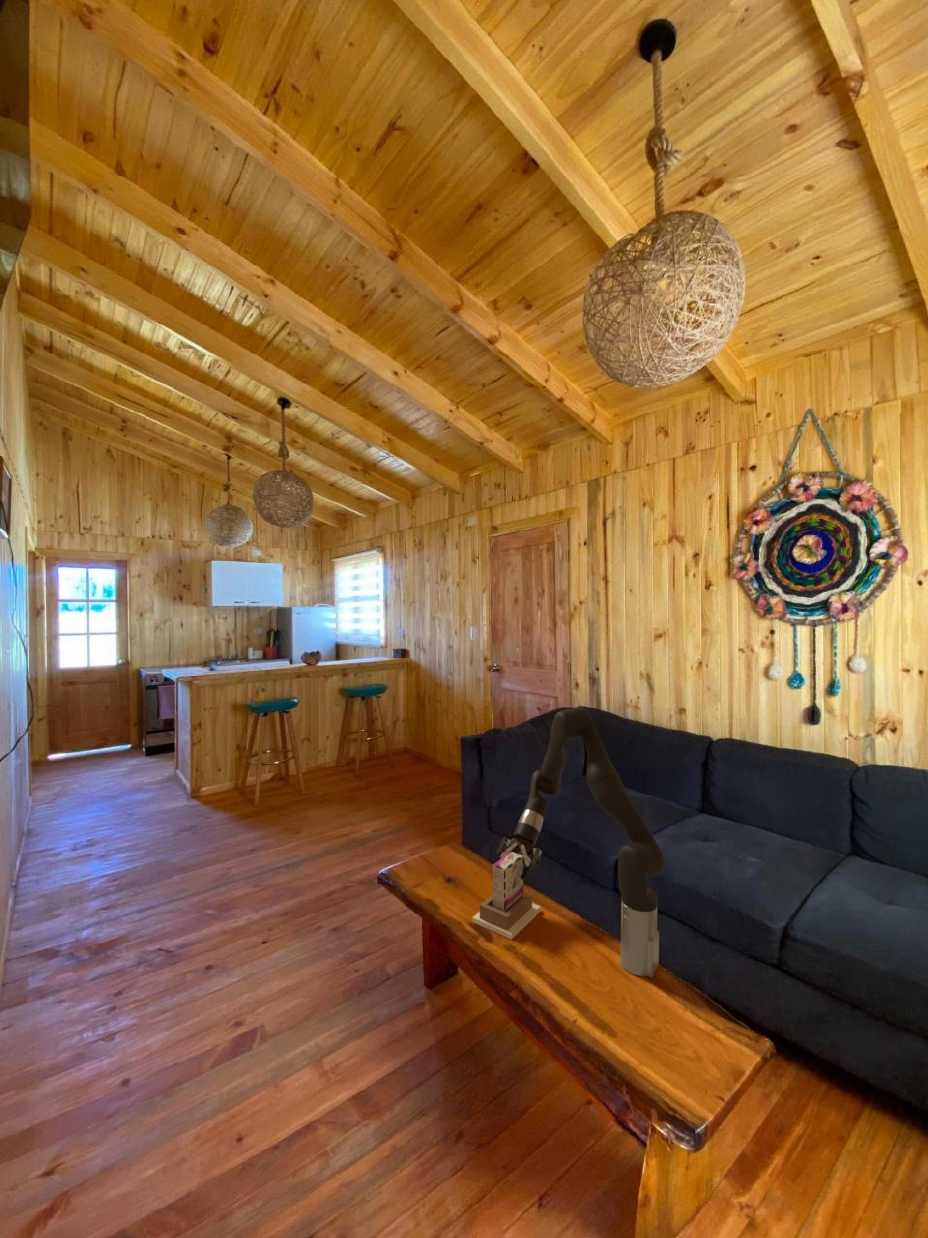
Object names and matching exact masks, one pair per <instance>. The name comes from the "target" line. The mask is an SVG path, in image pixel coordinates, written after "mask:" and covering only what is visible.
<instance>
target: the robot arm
mask: <svg viewBox="0 0 928 1238" xmlns="http://www.w3.org/2000/svg"><path fill="white" fill-rule="evenodd" d="M578 738H581V740H582V742H583V743H584V744H583V745H584V746H585V749H586V752H587V753H586V754H587V763H586V782H587V785H588V787H589V789H590V792H591V793H592V796H593V798H594V799H595V802H596V803H597V804H598V806H599V807H600V808H601V810H603V811H604V812H605V813H606V814H608V815H609V816H610V817H611V818H612V819H614V821H615V822H616V823H617V824H619V826H620V827H621V828H622V830H623V831H624V832H625V834H626V836H627V837H628V839H629V841H630V843H629V844H625V845H624V846H622V847H621V848H620V850H619V853H618V858H617V869H618V870H617V871H618V872H617V873H618V888H619V890H620V891H619V892H620V894H621V912H620V913H621V914H620V916H621V917H620V954H619V955H620V964H621V966H622V967H623V969H624V970H626V971H627V972H628V973H630V974H632V975H634V976H635V975H636V976H638V977H647V978H652V979H653V977H654V975H655V974H656V972H657V969H658V968H659V962H660V960H659V957H660V956H659V955H660V953H659V952H660V931H659V930H658V896H657V893H656V891H654V890H653V889H652V888H650V887H649V886H647V885H648V880H649V879H651V878H653V877H656V876H658V875H660V874H662V873H663V872H664V870H665V864H666V863H665V862H666V861H665V857H664V855H663V852H662V850H661V848H660V846H659V845H658V843H657V842H656V840H655V838H654V836H653V835H652V833H651V832H650V830H649V829H648V827H647V826H646V824H645V823H644V821H643V819H642V818H641V816H640V814H639V813H638V810H637V809H636V807H635V805H634V803H633V802H632V800H631V798H630V795H629V794H628V792H627V790H626V788H625V785H624V783H623V782H622V780H621V778H620V776H619V774H618V773H617V770H616V769H615V767H614V765H613V764H612V762H611V759H610V757H609V755H608V753H607V751H606V749H605V747H604V745H603V743H602V740H601V738H600V736H599V733H598V730H597V728H596V726H595V723H594V721H593V718H592V717H591V715H590V713H589V711H587V710H586V709H585V708H584V707H583V706H576V707H571V708H568V709H561V710H560V711H558V712H557V713H556V714H555V715H554V717H553V720H552V723H551V730H550V736H549V744H548V747H547V748H548V749H547V752H546V755H545V757H544V760H543V763H542V765H541V769H537V770H535V771H534V772H533V773H532V775H531V779H530V790H529V794H528V795H529V796H528V799H527V802H526V805H525V807H524V808H523V809H524V810H523V812H522V813H521V816H520V818H519V820H518V822H517V824H516V828H515V830H514V833H513V837H512V839H509V838H507V837H506V836H504V837H503V838H502V840H501V841H500V844H499V846H498V848H497V850H496V854H497V856H499V860H500V859H502V858H503V857H504V856H506V855H507V854H508V853H510V852H514V853H517V854H520V855H523V861H524V863H525V866H524V865H523V872H522V874H521V879H522V880H523V882H525V881H526V880H527V879H528V877H529V875H530V872H531V870H538V868H539V864H540V861H541V858H542V854H543V851H542V850H541V849H540V848H539V847H535V845H536V843H537V840H538V838H539V835H540V832H541V831H542V827H543V822H544V819H545V817H546V813H547V812H548V808H549V803H548V801H547V800H545V798H544V797H542V796H541V795H540V794H539V792H540V793H541V794H543V795H546V796H548V797H550V798H555V797H556V796H558V795H559V793H560V792H561V788H562V774H563V771H564V770H565V767H566V764H567V762H568V761H567V760H568V759H567V758H568V757H567V752H566V750H565V749H564V746H565V744H566V742H568V741H569V740H574V739H578ZM508 846H509V847H508ZM532 854H533V858H532V859H531V857H530V855H532ZM531 860H532V861H531Z"/></svg>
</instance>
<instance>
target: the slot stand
mask: <svg viewBox="0 0 928 1238" xmlns="http://www.w3.org/2000/svg"><path fill="white" fill-rule="evenodd" d="M541 907H542V906H540V905H537V904H536V903H533V894H532V893H526V894H525V895H523V898H522V899H521V900H520V901H519V902H518V903H517V904H515V905H514V906H513V907H512V908H511V909H510V910H509V911H507V912H506V913H505V912H503V911H500V910H498V909H496V908H493V894H492V895H491V896H489V897H488V898H486V900H484V901H483V902H482V903H481V904H479V911H478V912H477V913H476V914H475V915H473V916H471V917H472V920H471V921H472V923H473V924H476V925H477V926H480V927H482V928H484V929H487V930H489V931H491V932H493V933H496V934H498V935H500V936H502V937H504V938H507V939H509V940H511V941H512V940H513V939H514V938H515V937H516V936H517V935H518V934H519V933H520V932H521V931H522V930H524V928H525V927H526V926H527V925H529V924H530V922H531V921H533V919H534V918H535V917H536V916H537V915H538V914H539V913H540V912H541V910H542V908H541Z"/></svg>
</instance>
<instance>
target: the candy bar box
mask: <svg viewBox="0 0 928 1238" xmlns="http://www.w3.org/2000/svg"><path fill="white" fill-rule="evenodd" d="M491 866H492V895H493V908H496V909H498V910H500V911H503V912H505V913H506V912H507V911H509V910H510V909H511V908H512V907H513V906H514V905H515V904H517V903H518V902H519V901H520V900H521V899H522V898H523V897H524V881H523V880H522V879H521V874H522V872H523V869H524V859H523V855H520V854H517V853H514V852H510V853H508V854H507V855H506V856H504V857H503V858H502V859H500V858H499V860H497V861H496V862H495V863H494V864H492V865H491Z"/></svg>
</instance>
